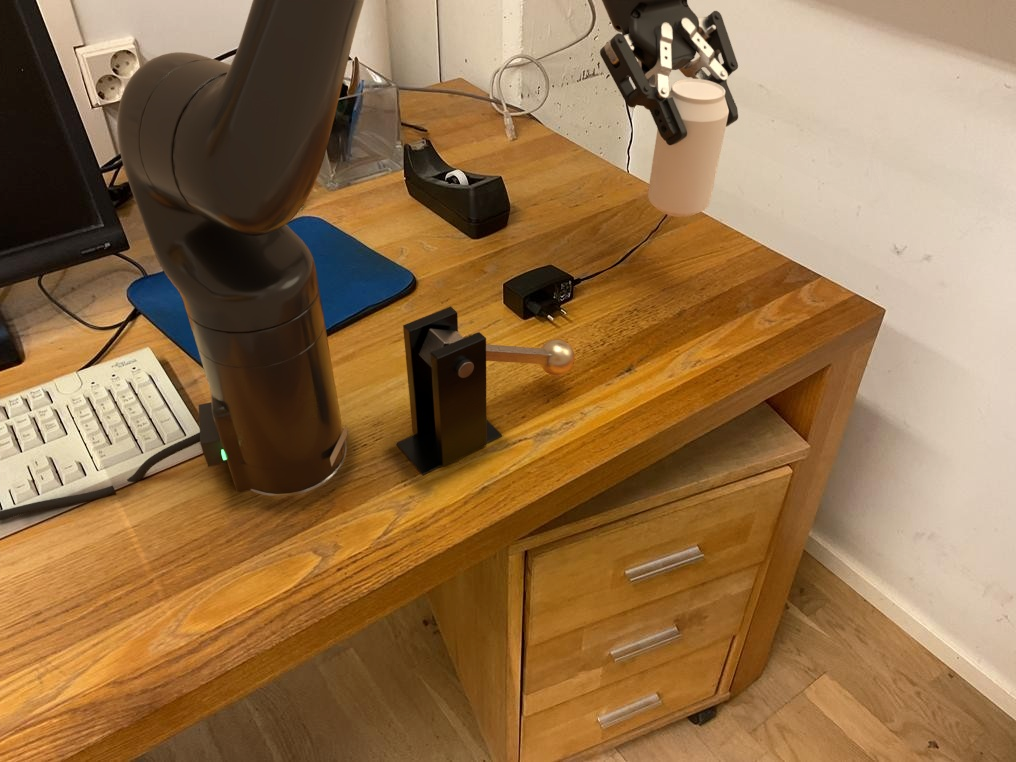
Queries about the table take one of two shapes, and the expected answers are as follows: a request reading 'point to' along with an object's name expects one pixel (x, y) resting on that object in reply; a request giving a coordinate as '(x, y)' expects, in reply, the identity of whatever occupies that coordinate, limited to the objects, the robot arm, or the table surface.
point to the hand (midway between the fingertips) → (704, 132)
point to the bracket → (445, 395)
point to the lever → (508, 352)
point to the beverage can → (690, 150)
